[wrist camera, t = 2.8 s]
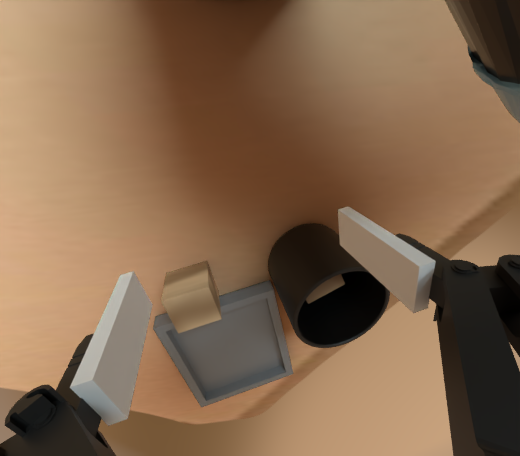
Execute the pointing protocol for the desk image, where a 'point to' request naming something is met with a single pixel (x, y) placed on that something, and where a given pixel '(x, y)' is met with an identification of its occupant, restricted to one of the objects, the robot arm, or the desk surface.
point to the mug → (317, 272)
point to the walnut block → (326, 288)
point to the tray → (230, 346)
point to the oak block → (191, 297)
